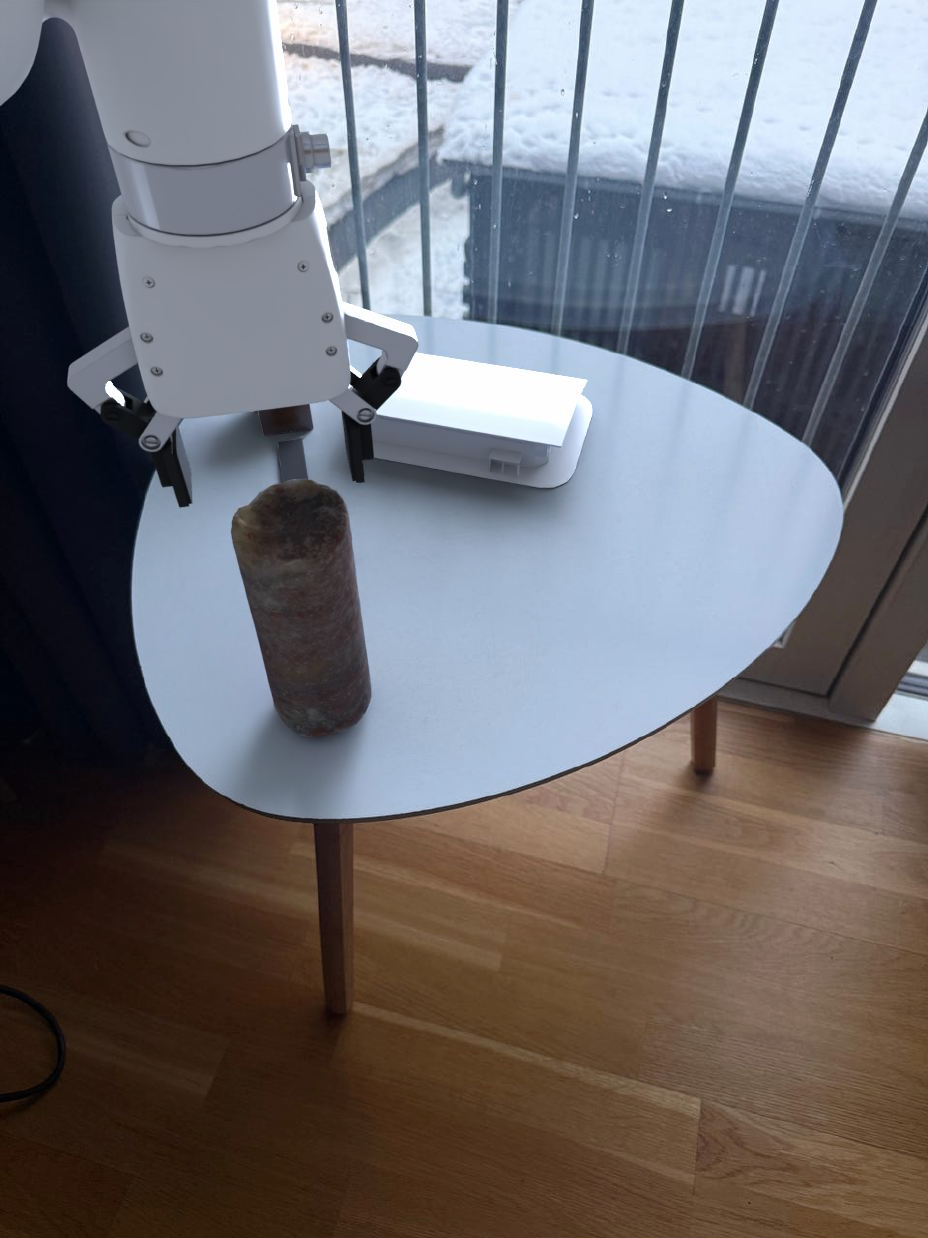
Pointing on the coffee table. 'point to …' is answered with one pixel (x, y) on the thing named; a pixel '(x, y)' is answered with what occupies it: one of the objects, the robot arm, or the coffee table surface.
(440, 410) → the white flat lidded device
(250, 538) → the brown weathered cylinder
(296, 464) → the strip
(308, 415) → the walnut block
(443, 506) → the coffee table surface
